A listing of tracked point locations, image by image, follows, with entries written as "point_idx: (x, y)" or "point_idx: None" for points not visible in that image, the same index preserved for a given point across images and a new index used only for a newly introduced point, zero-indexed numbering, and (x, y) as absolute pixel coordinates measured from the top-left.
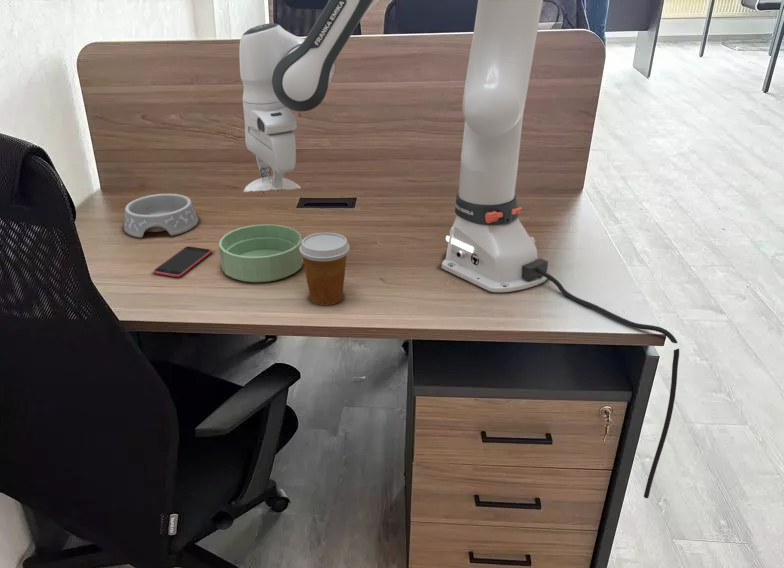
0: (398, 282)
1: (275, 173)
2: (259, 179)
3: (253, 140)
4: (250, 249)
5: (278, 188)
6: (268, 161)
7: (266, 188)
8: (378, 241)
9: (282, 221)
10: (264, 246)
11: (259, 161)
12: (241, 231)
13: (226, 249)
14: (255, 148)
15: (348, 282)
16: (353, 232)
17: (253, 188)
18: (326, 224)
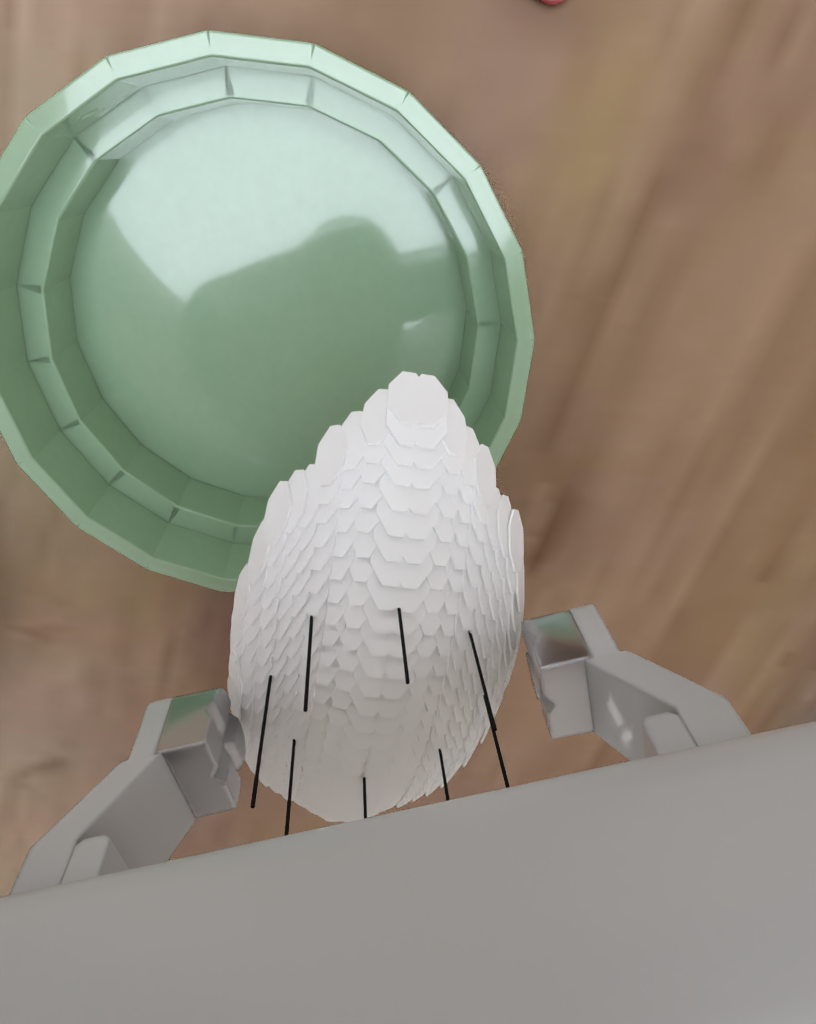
0: (23, 806)
1: (30, 858)
2: (383, 601)
3: (776, 990)
4: (462, 277)
5: (234, 707)
6: (3, 956)
7: (237, 618)
8: (411, 802)
9: (808, 487)
10: (461, 362)
11: (658, 713)
12: (496, 248)
13: (358, 107)
14: (627, 876)
15: (34, 660)
16: (533, 741)
17: (298, 497)
18: (666, 662)
